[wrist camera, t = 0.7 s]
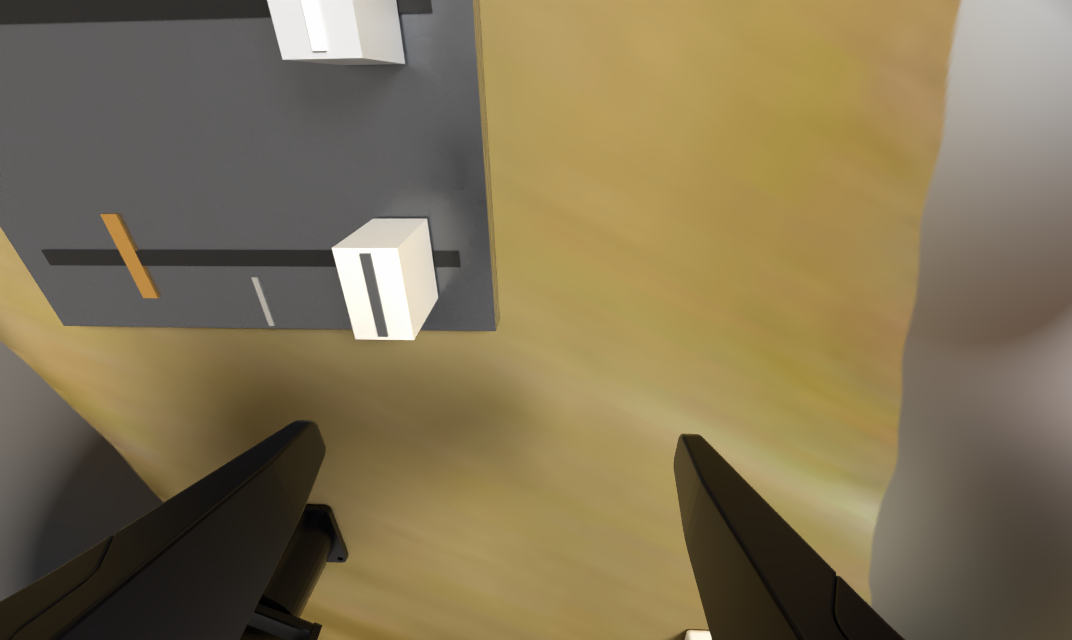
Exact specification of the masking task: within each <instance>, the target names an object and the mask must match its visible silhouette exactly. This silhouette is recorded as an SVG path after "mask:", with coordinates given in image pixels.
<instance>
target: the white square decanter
mask: <svg viewBox="0 0 1072 640" xmlns="http://www.w3.org/2000/svg"><path fill="white" fill-rule="evenodd" d="M685 640H712V638H711V634H710V631H707V630H688V631H687V632H686V636H685Z"/></svg>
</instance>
